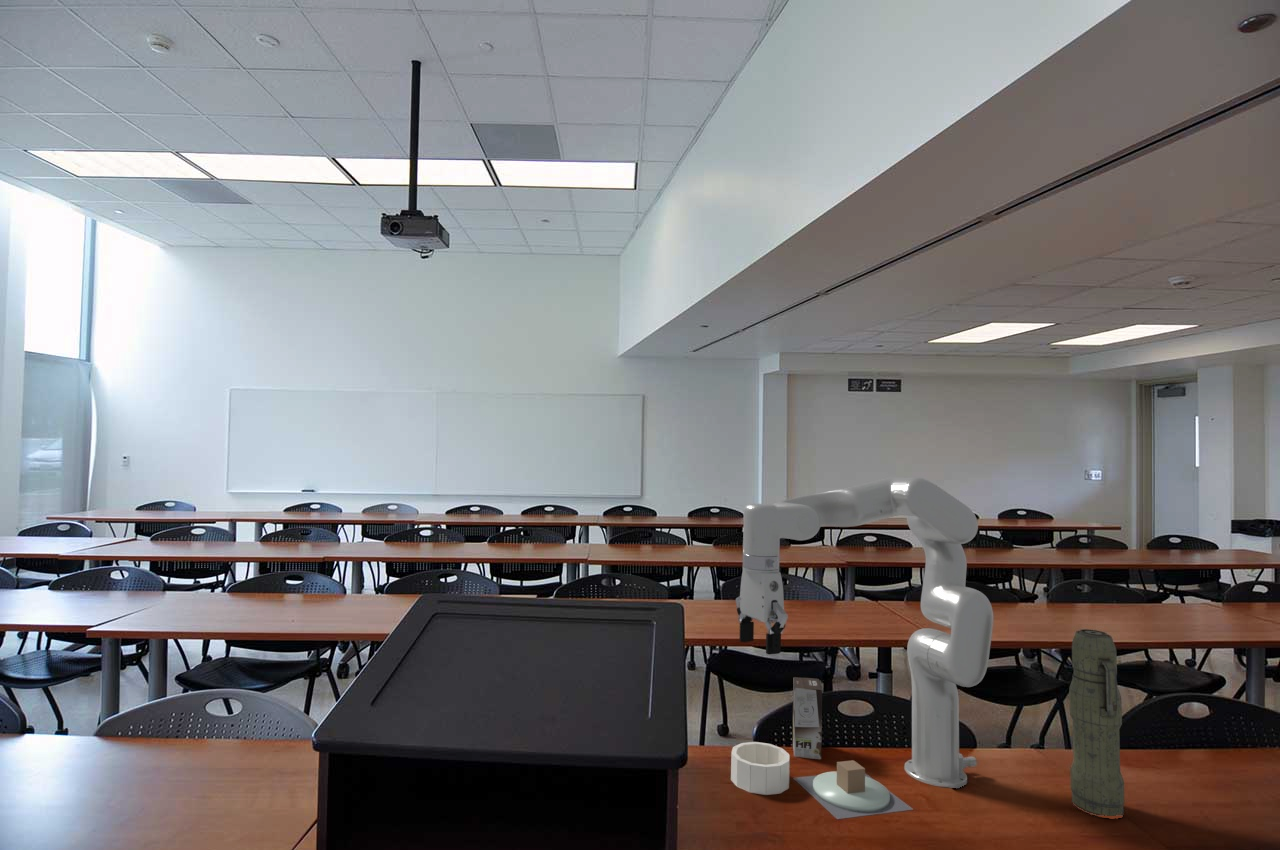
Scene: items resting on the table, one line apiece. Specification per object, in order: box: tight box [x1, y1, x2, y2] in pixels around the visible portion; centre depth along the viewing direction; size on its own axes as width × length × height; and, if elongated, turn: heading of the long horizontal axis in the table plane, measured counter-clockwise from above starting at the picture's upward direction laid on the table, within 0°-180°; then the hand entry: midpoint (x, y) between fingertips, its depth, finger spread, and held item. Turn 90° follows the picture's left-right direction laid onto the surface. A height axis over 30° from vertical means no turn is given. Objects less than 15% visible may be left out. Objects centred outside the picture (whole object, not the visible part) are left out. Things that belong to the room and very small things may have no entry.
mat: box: [792, 772, 914, 820], centre depth 133 cm, size 17×17×1 cm
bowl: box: [730, 741, 791, 796], centre depth 138 cm, size 12×12×6 cm
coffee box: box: [792, 676, 823, 760], centre depth 155 cm, size 9×6×16 cm
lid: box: [813, 759, 890, 812], centre depth 133 cm, size 15×15×6 cm
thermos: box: [1068, 628, 1125, 816], centre depth 133 cm, size 9×12×35 cm
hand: (759, 647), depth 134 cm, fingers open, 9 cm apart
